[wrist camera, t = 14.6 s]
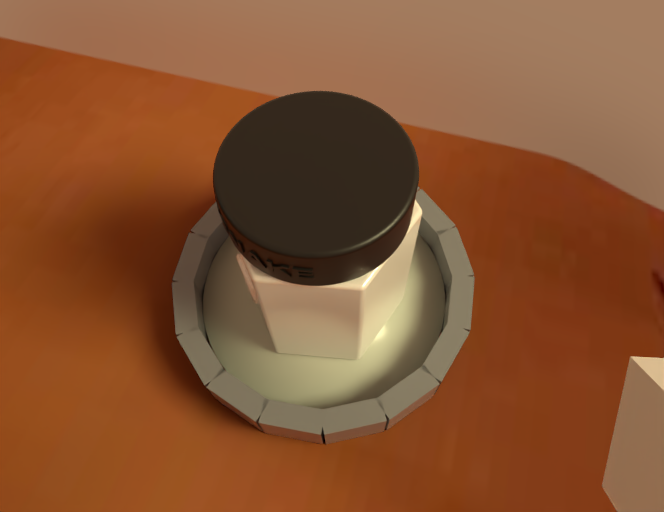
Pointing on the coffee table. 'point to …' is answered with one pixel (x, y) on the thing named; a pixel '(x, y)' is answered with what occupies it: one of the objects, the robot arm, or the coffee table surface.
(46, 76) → the coffee table surface
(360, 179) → the jar
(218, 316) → the ring dish
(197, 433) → the coffee table surface
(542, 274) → the coffee table surface
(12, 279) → the coffee table surface
